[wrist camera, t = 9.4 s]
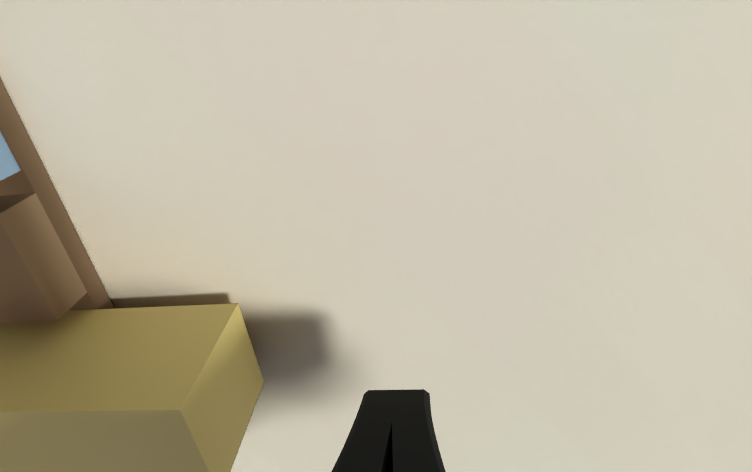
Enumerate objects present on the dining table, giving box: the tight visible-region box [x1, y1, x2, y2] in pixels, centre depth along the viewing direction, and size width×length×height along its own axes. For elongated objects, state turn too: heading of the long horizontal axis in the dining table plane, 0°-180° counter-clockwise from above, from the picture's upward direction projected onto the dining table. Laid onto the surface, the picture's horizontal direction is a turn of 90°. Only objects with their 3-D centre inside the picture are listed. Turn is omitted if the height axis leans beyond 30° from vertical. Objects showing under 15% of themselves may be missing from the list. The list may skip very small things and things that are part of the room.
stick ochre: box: [0, 303, 264, 472], centre depth 12 cm, size 10×3×4 cm, turn 97°
